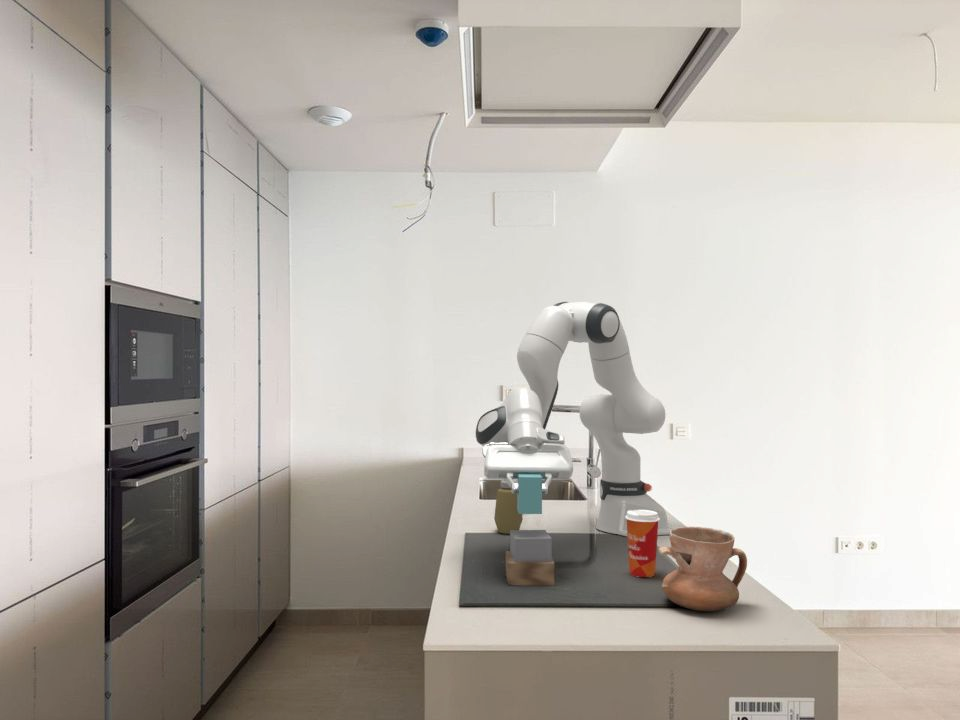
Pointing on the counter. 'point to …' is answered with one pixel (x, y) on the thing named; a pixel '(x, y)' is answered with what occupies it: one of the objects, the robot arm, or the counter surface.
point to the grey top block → (530, 546)
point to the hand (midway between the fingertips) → (529, 492)
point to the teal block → (529, 494)
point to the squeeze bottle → (507, 510)
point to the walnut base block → (529, 572)
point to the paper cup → (642, 541)
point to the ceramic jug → (702, 569)
